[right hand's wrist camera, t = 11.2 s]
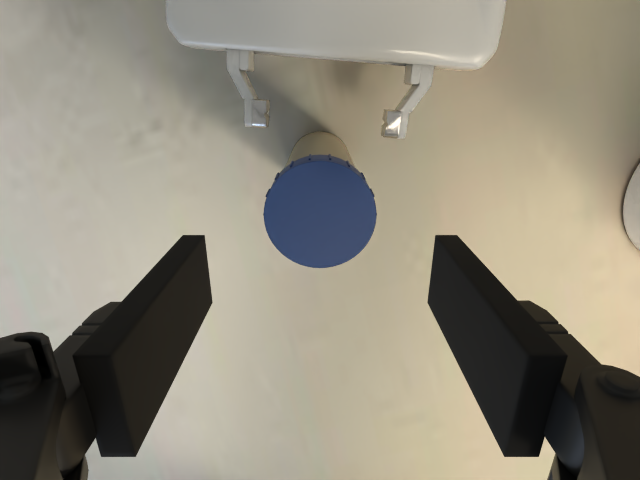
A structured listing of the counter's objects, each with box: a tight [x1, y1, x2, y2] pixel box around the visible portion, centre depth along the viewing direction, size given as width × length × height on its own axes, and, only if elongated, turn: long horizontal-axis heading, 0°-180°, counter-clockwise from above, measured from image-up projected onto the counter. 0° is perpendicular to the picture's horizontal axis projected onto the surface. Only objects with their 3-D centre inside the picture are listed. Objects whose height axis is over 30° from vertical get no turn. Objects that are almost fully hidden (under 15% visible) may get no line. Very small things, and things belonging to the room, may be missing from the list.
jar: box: [286, 132, 355, 167], centre depth 27 cm, size 5×5×15 cm
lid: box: [263, 154, 377, 268], centre depth 21 cm, size 6×6×2 cm
